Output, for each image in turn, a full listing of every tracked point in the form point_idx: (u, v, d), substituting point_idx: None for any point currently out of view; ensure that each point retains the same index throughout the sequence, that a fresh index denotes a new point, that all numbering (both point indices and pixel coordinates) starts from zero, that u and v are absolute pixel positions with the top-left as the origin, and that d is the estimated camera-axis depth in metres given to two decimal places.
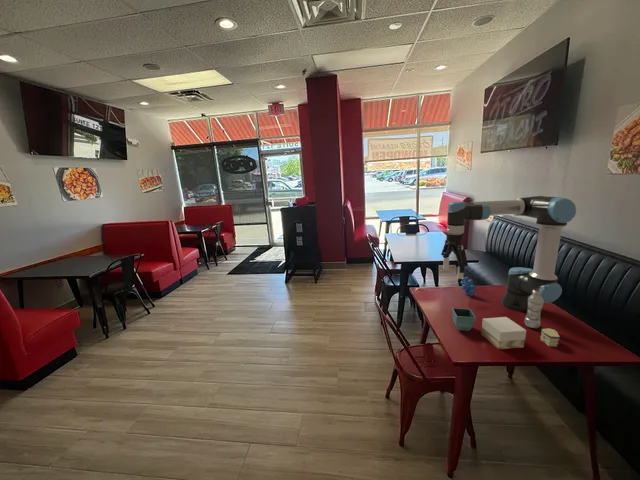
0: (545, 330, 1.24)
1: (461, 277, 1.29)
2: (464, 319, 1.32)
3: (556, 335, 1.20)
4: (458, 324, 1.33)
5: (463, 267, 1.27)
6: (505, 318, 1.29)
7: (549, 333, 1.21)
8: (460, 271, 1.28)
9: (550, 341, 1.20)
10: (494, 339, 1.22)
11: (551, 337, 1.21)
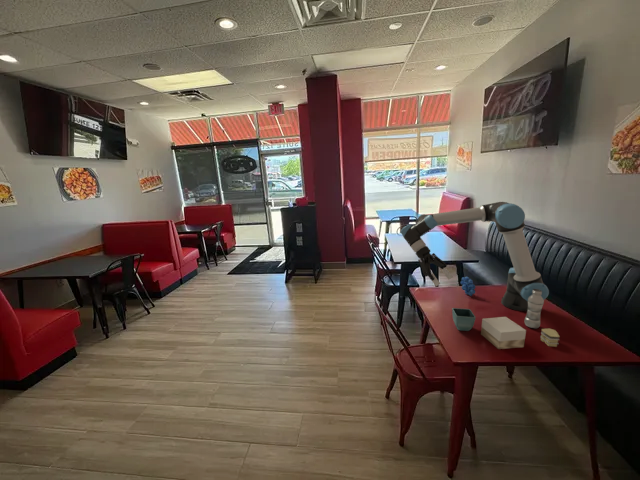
0: (545, 330, 1.24)
1: (437, 283, 1.38)
2: (464, 319, 1.32)
3: (556, 335, 1.20)
4: (458, 324, 1.33)
5: (429, 275, 1.39)
6: (504, 318, 1.29)
7: (549, 333, 1.21)
8: None
9: (550, 341, 1.20)
10: (494, 339, 1.22)
11: (551, 337, 1.20)
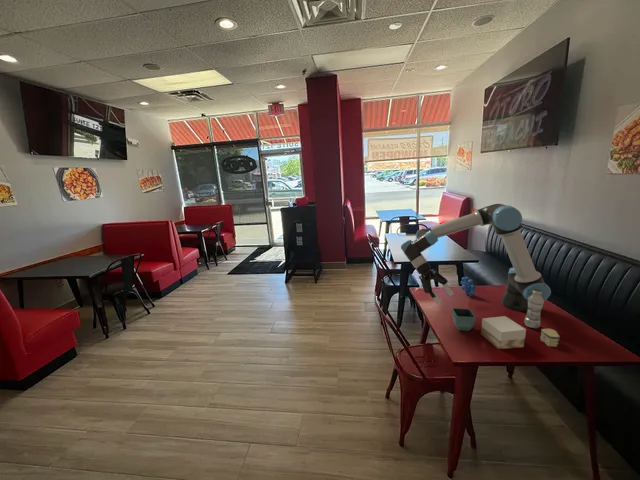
0: (545, 330, 1.24)
1: (438, 301, 1.37)
2: (464, 319, 1.32)
3: (556, 335, 1.20)
4: (458, 324, 1.33)
5: (430, 292, 1.38)
6: (504, 317, 1.29)
7: (549, 333, 1.21)
8: None
9: (550, 341, 1.20)
10: (494, 339, 1.22)
11: (551, 337, 1.20)
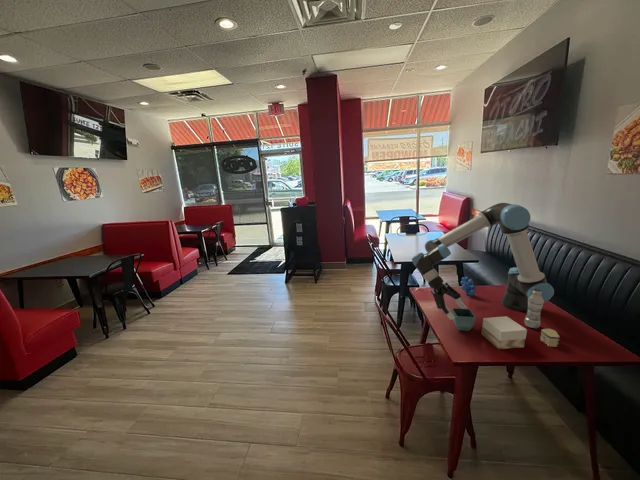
0: (545, 330, 1.24)
1: (452, 317, 1.32)
2: (464, 319, 1.32)
3: (556, 335, 1.20)
4: (458, 324, 1.33)
5: (443, 308, 1.34)
6: (506, 317, 1.29)
7: (549, 333, 1.21)
8: None
9: (550, 341, 1.20)
10: (494, 339, 1.22)
11: (551, 337, 1.20)
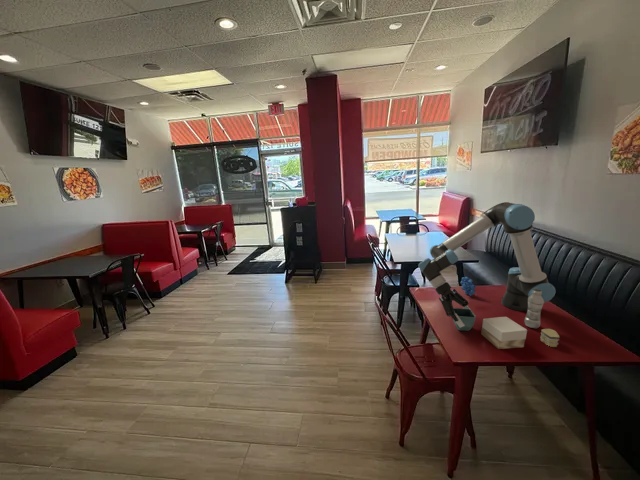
0: (545, 330, 1.24)
1: (461, 325, 1.30)
2: (464, 319, 1.32)
3: (556, 335, 1.20)
4: None
5: (453, 316, 1.32)
6: (505, 318, 1.29)
7: (549, 333, 1.21)
8: None
9: (550, 341, 1.20)
10: (494, 339, 1.22)
11: (551, 337, 1.20)
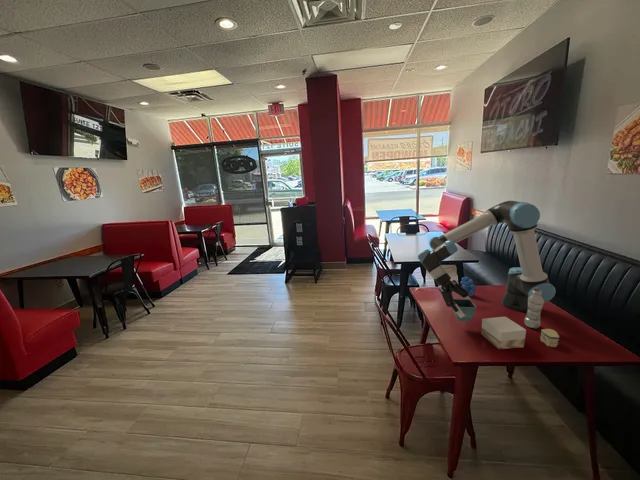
0: (545, 330, 1.23)
1: (462, 315, 1.29)
2: (464, 310, 1.31)
3: (556, 335, 1.19)
4: None
5: (453, 306, 1.30)
6: (504, 318, 1.29)
7: (549, 333, 1.21)
8: None
9: (550, 341, 1.20)
10: (494, 339, 1.22)
11: (551, 337, 1.20)
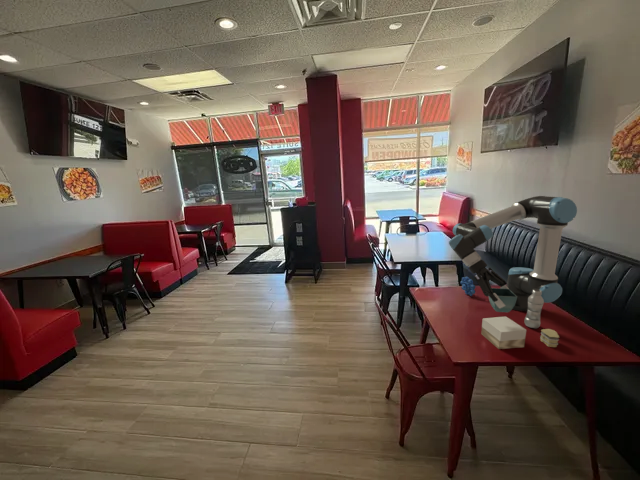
0: (545, 331, 1.23)
1: (501, 305, 1.17)
2: (503, 299, 1.18)
3: (556, 336, 1.19)
4: None
5: (491, 295, 1.18)
6: (505, 318, 1.29)
7: (549, 334, 1.21)
8: None
9: (550, 342, 1.20)
10: (494, 339, 1.22)
11: (551, 338, 1.20)
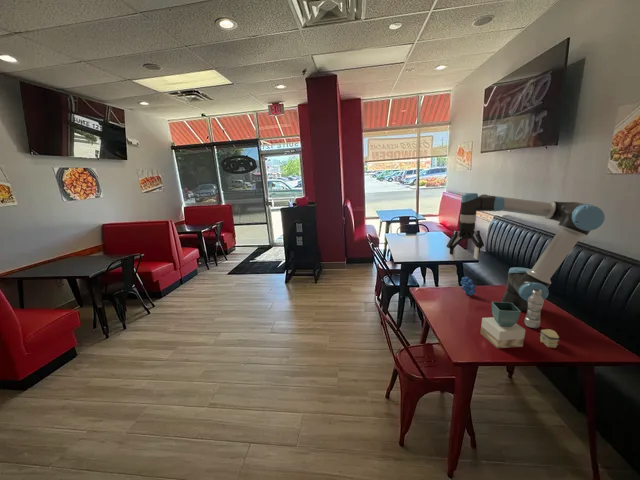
0: (544, 331, 1.23)
1: (452, 259, 1.48)
2: (507, 314, 1.19)
3: (555, 336, 1.19)
4: (500, 319, 1.21)
5: (450, 249, 1.47)
6: None
7: (548, 334, 1.21)
8: None
9: (549, 342, 1.19)
10: (493, 338, 1.23)
11: (550, 338, 1.20)
